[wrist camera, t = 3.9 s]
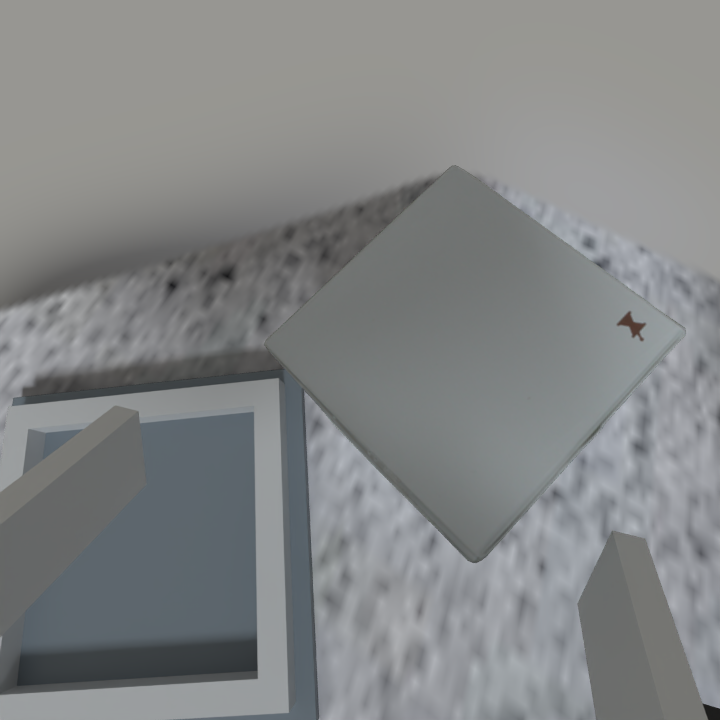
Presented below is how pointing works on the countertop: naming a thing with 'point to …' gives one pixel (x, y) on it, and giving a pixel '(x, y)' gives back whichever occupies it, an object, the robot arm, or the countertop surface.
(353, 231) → the countertop surface
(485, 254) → the supplement box
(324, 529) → the countertop surface
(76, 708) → the slate base tray
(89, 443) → the robot arm
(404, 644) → the countertop surface
